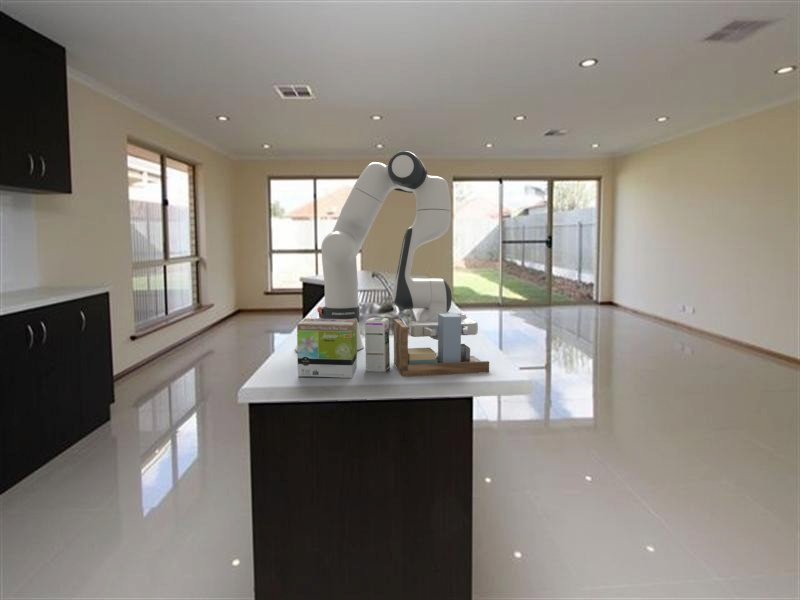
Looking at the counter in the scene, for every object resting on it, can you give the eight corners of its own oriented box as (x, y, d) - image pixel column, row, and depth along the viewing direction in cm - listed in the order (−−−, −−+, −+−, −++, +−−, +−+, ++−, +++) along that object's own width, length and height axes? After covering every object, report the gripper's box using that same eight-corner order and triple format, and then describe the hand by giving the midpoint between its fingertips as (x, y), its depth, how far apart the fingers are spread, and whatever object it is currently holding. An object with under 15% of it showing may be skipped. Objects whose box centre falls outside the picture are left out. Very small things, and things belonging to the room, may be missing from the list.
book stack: (403, 361, 155) (403, 347, 155) (430, 360, 156) (430, 346, 156) (409, 368, 147) (409, 354, 147) (437, 367, 148) (437, 352, 148)
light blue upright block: (443, 366, 149) (443, 317, 147) (437, 361, 155) (438, 313, 153) (460, 366, 150) (461, 316, 148) (454, 361, 155) (455, 313, 154)
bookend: (459, 360, 156) (459, 343, 155) (477, 360, 157) (477, 343, 156) (465, 365, 150) (466, 348, 149) (484, 364, 151) (484, 347, 150)
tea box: (297, 378, 143) (295, 323, 141) (305, 368, 153) (304, 317, 151) (353, 378, 142) (352, 323, 141) (357, 369, 152) (357, 317, 151)
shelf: (393, 364, 158) (393, 318, 156) (473, 360, 162) (474, 316, 161) (402, 376, 144) (402, 327, 143) (489, 372, 149) (490, 324, 147)
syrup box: (385, 372, 149) (385, 320, 147) (365, 371, 150) (364, 320, 148) (390, 367, 154) (389, 317, 153) (370, 366, 156) (369, 317, 154)
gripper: (404, 315, 162) (413, 323, 148) (469, 313, 165) (484, 320, 152) (404, 336, 163) (413, 345, 149) (469, 333, 166) (483, 342, 153)
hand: (449, 333), depth 151 cm, fingers open, 8 cm apart
